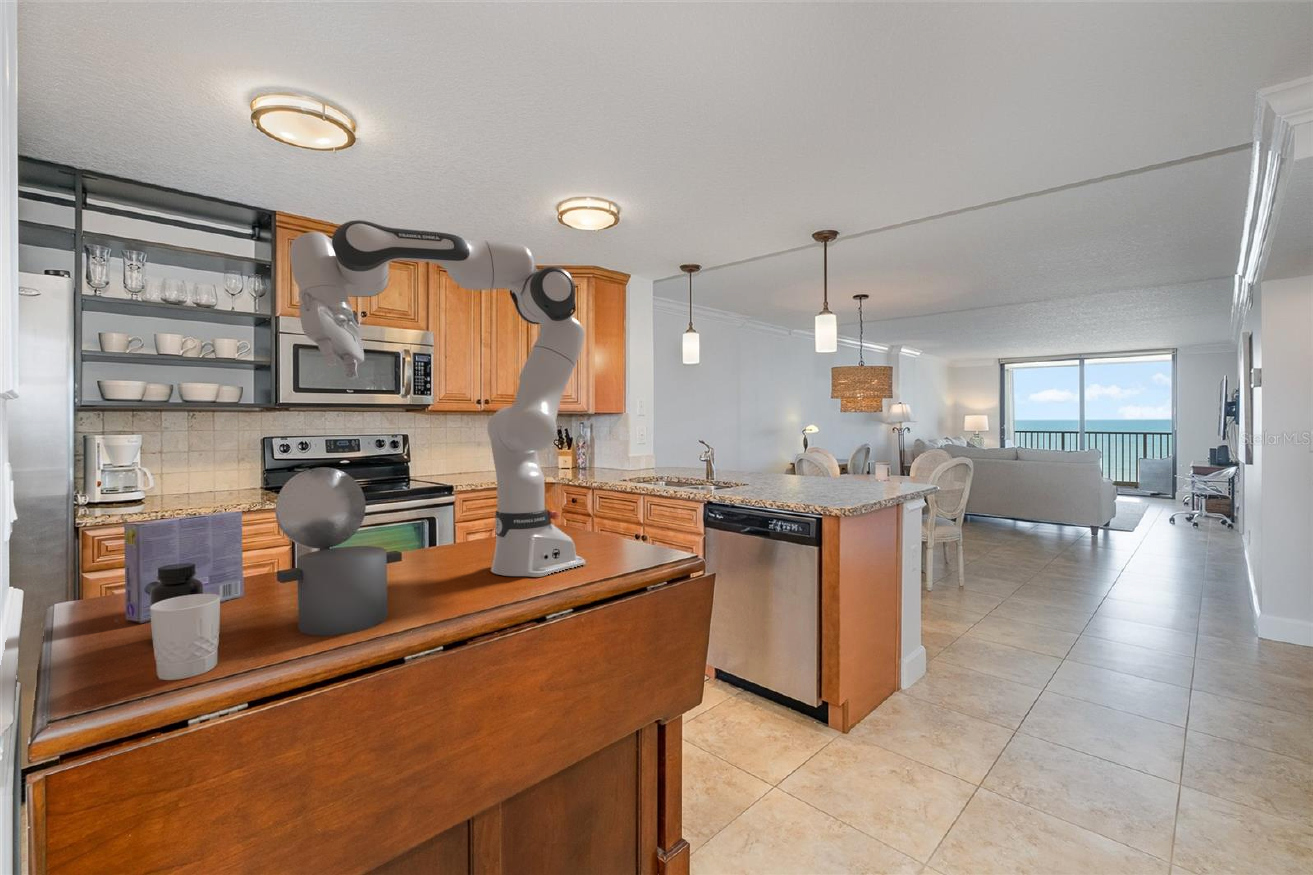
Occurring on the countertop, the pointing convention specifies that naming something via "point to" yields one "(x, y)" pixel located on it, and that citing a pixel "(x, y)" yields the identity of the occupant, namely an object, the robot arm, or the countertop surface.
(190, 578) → the supplement bottle
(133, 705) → the countertop surface
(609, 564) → the countertop surface
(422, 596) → the countertop surface
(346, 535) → the lid
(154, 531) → the cake pan box
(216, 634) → the white cup
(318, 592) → the gray cooking pot
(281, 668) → the countertop surface
